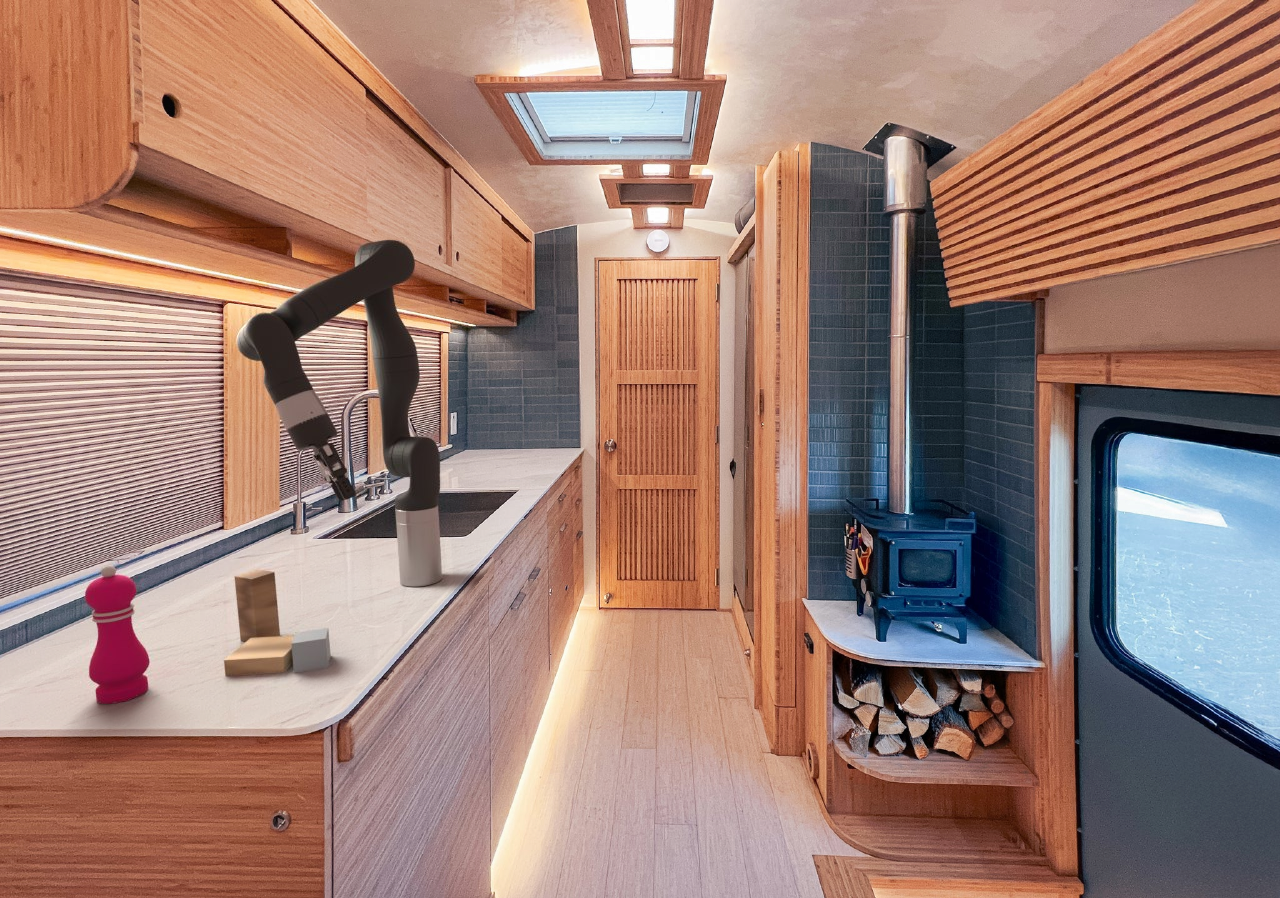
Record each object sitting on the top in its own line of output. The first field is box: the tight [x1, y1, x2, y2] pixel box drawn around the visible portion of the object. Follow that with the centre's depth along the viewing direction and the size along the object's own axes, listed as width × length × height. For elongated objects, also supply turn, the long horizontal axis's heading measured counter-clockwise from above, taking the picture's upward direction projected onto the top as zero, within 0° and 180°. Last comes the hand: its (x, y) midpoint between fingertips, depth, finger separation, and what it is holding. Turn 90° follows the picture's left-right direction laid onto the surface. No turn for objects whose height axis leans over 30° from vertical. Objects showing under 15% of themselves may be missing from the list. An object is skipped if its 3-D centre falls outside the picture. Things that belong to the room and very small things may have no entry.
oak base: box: [223, 635, 294, 677], centre depth 112 cm, size 9×9×3 cm
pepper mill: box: [84, 565, 150, 705], centre depth 100 cm, size 7×7×20 cm
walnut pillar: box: [234, 569, 281, 643], centre depth 122 cm, size 4×4×12 cm
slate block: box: [291, 627, 331, 674], centre depth 110 cm, size 5×5×5 cm
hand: (347, 498), depth 126 cm, fingers open, 8 cm apart
